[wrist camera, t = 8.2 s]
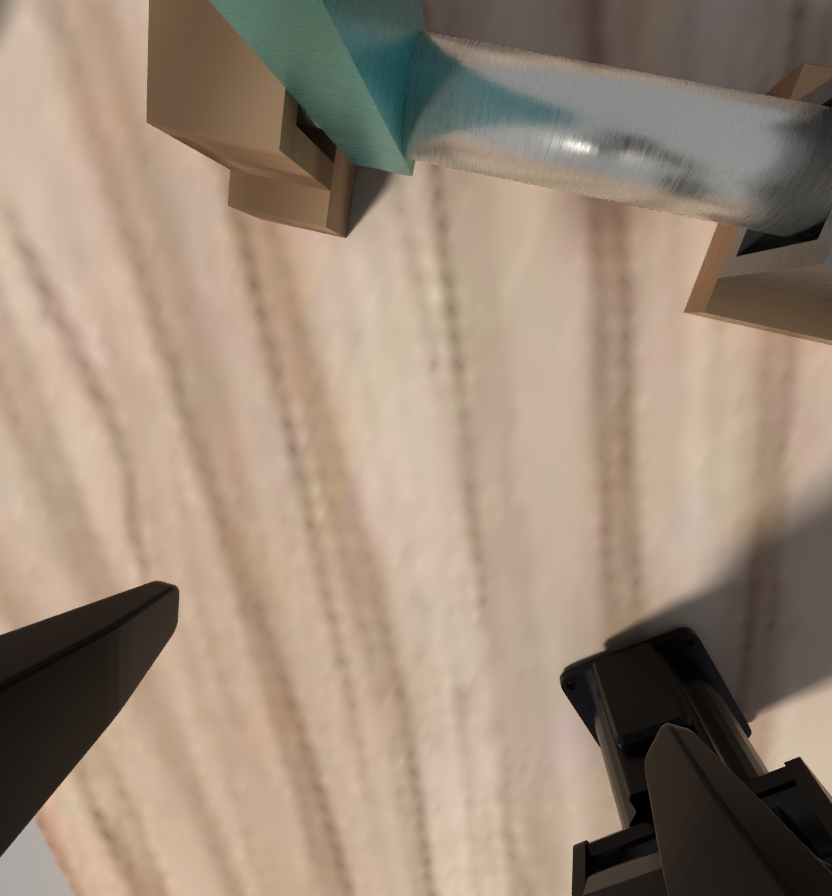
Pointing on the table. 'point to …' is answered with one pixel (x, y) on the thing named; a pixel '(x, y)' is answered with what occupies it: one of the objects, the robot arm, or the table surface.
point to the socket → (242, 120)
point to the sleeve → (772, 258)
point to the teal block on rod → (542, 116)
